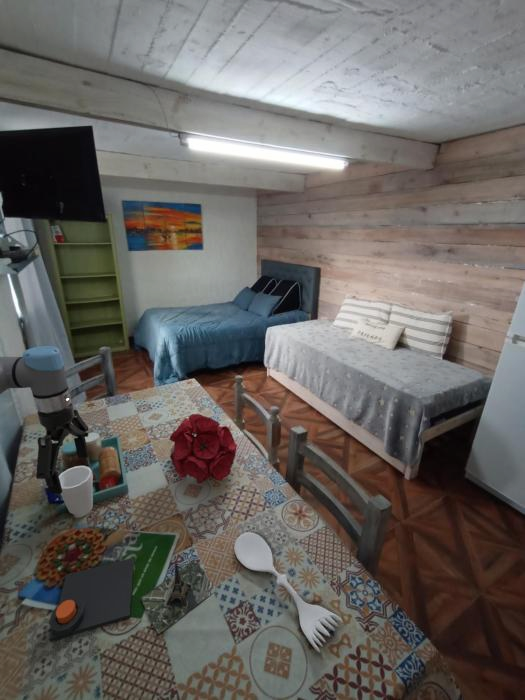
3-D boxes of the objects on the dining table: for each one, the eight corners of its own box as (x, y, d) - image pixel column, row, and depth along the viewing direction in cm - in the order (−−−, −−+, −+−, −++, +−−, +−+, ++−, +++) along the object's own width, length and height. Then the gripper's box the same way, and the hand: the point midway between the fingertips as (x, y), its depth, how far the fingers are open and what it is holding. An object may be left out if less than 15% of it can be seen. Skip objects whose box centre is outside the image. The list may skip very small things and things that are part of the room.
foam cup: (87, 493, 105) (80, 461, 101) (104, 505, 101) (98, 473, 96) (58, 513, 98) (49, 480, 93) (75, 527, 93) (66, 493, 89)
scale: (48, 643, 67) (45, 635, 66) (66, 577, 80) (63, 569, 79) (130, 619, 72) (128, 611, 71) (134, 560, 85) (133, 552, 84)
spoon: (317, 661, 66) (319, 652, 64) (227, 550, 88) (227, 541, 87) (343, 628, 71) (344, 619, 70) (252, 532, 94) (252, 523, 92)
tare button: (55, 626, 68) (53, 620, 67) (60, 608, 71) (58, 602, 71) (74, 620, 69) (72, 615, 68) (78, 603, 72) (76, 597, 72)
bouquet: (159, 493, 114) (208, 498, 94) (140, 431, 115) (183, 423, 95) (205, 466, 131) (255, 465, 111) (188, 411, 131) (234, 401, 111)
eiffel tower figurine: (195, 559, 85) (193, 523, 80) (216, 590, 78) (215, 552, 73) (140, 599, 76) (134, 560, 71) (158, 638, 69) (153, 597, 64)
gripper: (38, 437, 68) (58, 511, 76) (93, 384, 91) (104, 444, 99) (2, 436, 68) (26, 510, 75) (67, 383, 91) (80, 444, 99)
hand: (70, 473), depth 87 cm, fingers open, 13 cm apart
